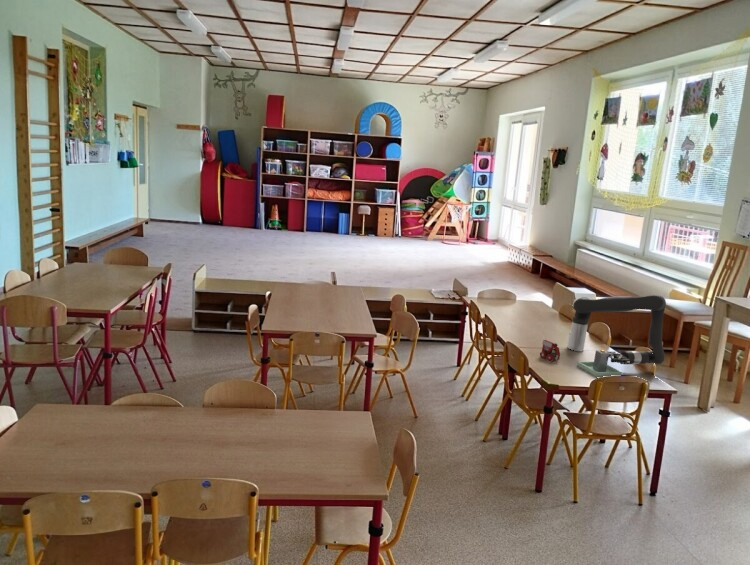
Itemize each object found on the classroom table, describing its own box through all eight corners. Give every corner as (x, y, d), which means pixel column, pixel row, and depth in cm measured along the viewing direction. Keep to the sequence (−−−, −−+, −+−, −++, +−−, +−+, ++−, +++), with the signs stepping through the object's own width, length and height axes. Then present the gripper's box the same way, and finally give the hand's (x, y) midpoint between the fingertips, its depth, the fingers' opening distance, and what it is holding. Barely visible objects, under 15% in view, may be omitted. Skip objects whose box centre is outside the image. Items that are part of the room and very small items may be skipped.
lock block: (592, 368, 340) (596, 348, 338) (600, 368, 342) (603, 348, 339) (598, 372, 336) (601, 351, 333) (605, 371, 337) (609, 351, 335)
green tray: (577, 366, 345) (577, 361, 344) (600, 366, 350) (601, 361, 349) (596, 378, 328) (597, 372, 328) (621, 377, 333) (622, 372, 332)
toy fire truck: (554, 363, 347) (556, 346, 345) (537, 356, 357) (539, 339, 355) (561, 361, 351) (564, 344, 349) (544, 355, 361) (547, 338, 359)
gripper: (623, 347, 349) (599, 347, 344) (640, 355, 335) (615, 355, 331) (621, 359, 350) (597, 359, 346) (638, 368, 337) (613, 368, 332)
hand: (606, 357), depth 338 cm, fingers open, 8 cm apart
